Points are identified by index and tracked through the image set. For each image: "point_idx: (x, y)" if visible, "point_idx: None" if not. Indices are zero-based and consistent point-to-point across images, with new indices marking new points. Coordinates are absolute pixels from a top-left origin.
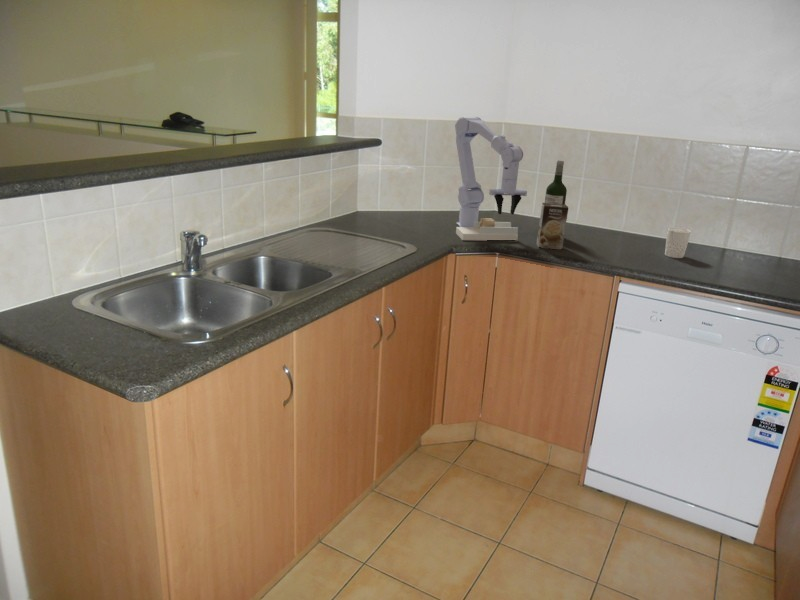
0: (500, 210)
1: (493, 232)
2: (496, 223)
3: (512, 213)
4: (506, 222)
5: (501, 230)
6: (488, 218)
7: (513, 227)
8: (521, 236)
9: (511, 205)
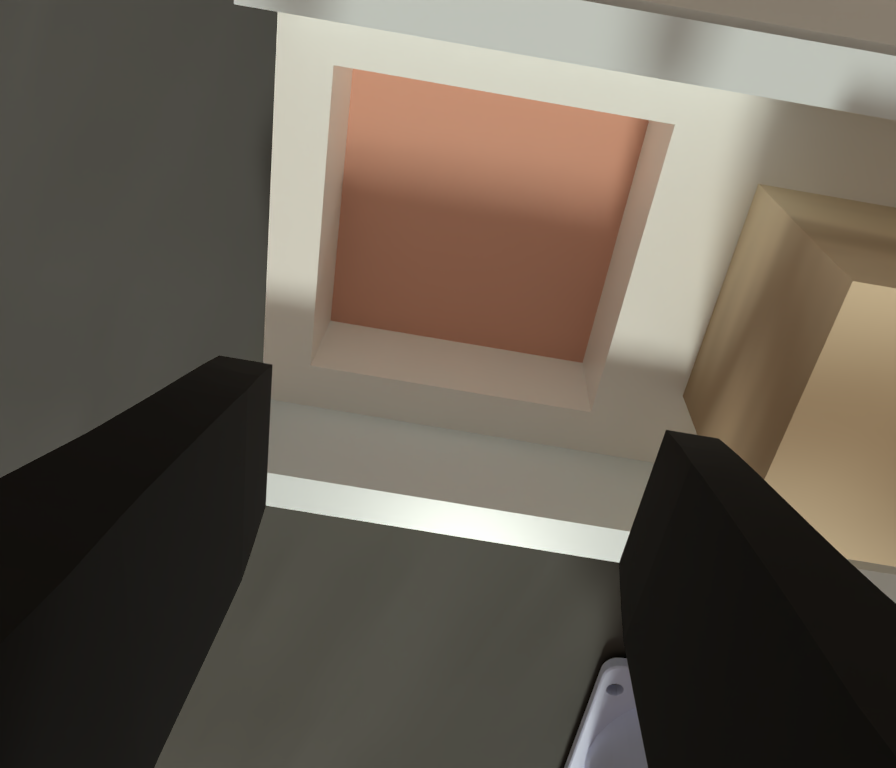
0: (759, 501)
1: (885, 44)
2: (541, 501)
3: (251, 373)
4: (327, 486)
5: (702, 15)
6: (840, 535)
7: (359, 6)
8: (115, 224)
9: (157, 738)
